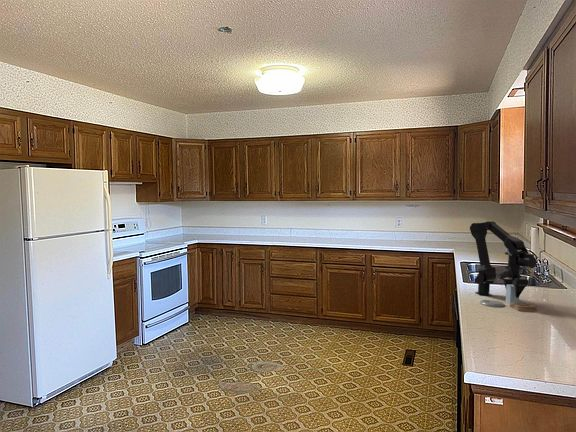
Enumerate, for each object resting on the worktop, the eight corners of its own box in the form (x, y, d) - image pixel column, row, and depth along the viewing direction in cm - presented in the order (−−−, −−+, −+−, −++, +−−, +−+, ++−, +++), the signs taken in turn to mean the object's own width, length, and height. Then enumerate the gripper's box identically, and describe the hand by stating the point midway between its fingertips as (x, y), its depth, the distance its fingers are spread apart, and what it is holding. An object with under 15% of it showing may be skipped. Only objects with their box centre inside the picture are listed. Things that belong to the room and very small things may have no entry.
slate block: (505, 301, 228) (506, 284, 228) (514, 301, 228) (515, 284, 228) (509, 304, 224) (510, 286, 223) (518, 304, 224) (519, 286, 223)
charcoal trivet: (476, 300, 228) (476, 299, 228) (497, 301, 229) (498, 300, 228) (486, 307, 218) (486, 305, 217) (508, 307, 218) (508, 306, 218)
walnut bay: (509, 306, 220) (509, 302, 220) (526, 306, 220) (527, 302, 220) (518, 310, 212) (518, 306, 212) (536, 311, 212) (536, 307, 212)
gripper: (489, 260, 234) (488, 290, 235) (507, 267, 215) (505, 299, 217) (511, 261, 234) (509, 290, 235) (530, 268, 215) (528, 300, 217)
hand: (512, 295), depth 226 cm, fingers open, 9 cm apart
